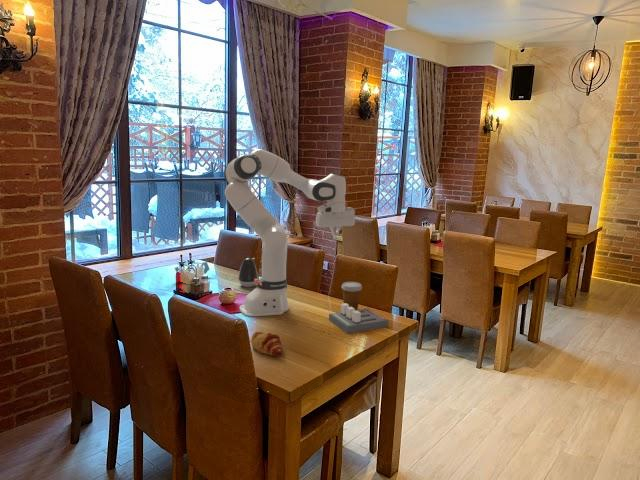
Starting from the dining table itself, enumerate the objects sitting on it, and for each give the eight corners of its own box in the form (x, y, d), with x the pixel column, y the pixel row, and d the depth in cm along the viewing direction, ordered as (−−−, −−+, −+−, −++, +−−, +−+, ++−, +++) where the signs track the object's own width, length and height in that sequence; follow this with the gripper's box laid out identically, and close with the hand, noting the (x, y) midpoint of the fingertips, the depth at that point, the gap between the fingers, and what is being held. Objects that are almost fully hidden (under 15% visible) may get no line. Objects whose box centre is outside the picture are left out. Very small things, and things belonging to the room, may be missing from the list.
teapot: (202, 284, 254) (201, 264, 252) (174, 282, 255) (173, 263, 253) (210, 276, 269) (209, 257, 267) (184, 275, 270) (183, 256, 268)
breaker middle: (349, 318, 200) (349, 309, 200) (346, 316, 203) (346, 307, 202) (354, 317, 201) (354, 308, 201) (351, 315, 204) (351, 306, 203)
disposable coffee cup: (359, 313, 217) (360, 288, 214) (339, 311, 218) (340, 286, 216) (362, 306, 226) (363, 282, 223) (342, 304, 228) (343, 280, 225)
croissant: (247, 348, 185) (238, 333, 181) (267, 332, 189) (259, 317, 185) (274, 369, 168) (264, 352, 164) (295, 351, 172) (287, 334, 168)
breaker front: (355, 322, 196) (355, 313, 195) (351, 320, 198) (352, 311, 198) (360, 321, 197) (360, 312, 196) (356, 319, 199) (357, 310, 199)
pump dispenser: (262, 285, 255) (262, 257, 252) (249, 289, 247) (249, 261, 244) (247, 281, 260) (247, 254, 258) (234, 286, 252) (234, 258, 249)
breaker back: (343, 314, 205) (344, 305, 204) (340, 312, 207) (341, 303, 206) (348, 313, 206) (349, 305, 205) (345, 311, 208) (345, 303, 207)
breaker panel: (346, 333, 193) (347, 326, 193) (328, 320, 207) (329, 313, 207) (388, 326, 202) (388, 319, 201) (368, 314, 216) (368, 307, 215)
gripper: (351, 206, 239) (350, 233, 241) (314, 207, 230) (313, 235, 232) (357, 207, 233) (356, 235, 236) (320, 209, 224) (319, 237, 227)
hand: (335, 235), depth 234 cm, fingers closed
